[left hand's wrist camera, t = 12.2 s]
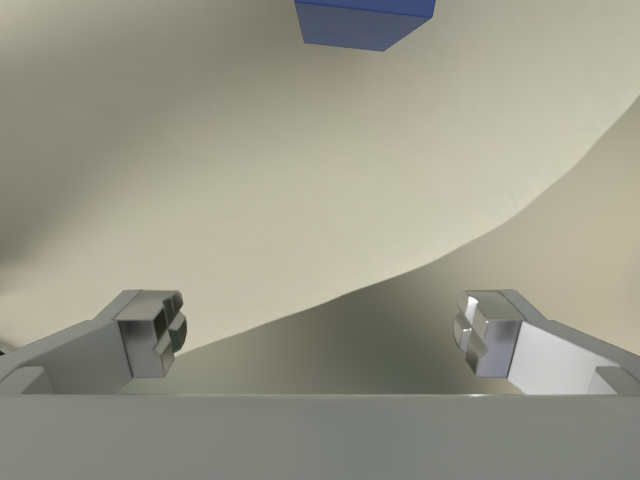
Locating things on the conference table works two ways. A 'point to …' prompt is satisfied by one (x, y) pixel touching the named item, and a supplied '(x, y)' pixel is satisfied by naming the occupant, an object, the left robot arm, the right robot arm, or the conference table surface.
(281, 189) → the conference table surface
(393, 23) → the box
